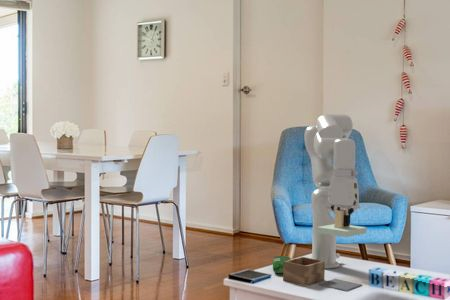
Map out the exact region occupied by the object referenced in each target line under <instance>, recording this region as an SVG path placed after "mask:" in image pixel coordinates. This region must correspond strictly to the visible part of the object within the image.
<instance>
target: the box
mask: <svg viewBox="0 0 450 300" xmlns="http://www.w3.org/2000/svg"><path fill="white" fill-rule="evenodd" d="M325 270H326V268H325V261H321V260H316V259H312V257H310V258H309V257H305V256H300V257H296V258H293V259H291V260H288V261H284V262H283V273H282V281H283V282H287V283H291V284H295V285H300V286H304V287H308V286H311V285H315V284H317V283H320V282H323V281H325V272H326V271H325Z"/></svg>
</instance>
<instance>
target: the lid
mask: <svg viewBox="0 0 450 300" xmlns="http://www.w3.org/2000/svg"><path fill="white" fill-rule="evenodd" d="M344 215H345V209H343V210H336V211H335V214H334V219H335V224H332V225H326V226H321V227H317V233H322V234H329V235H335V236H336V237H343V238H349V237H354V236H359V235H363V234H367V233H368V232H367V231H368V230H367V227H366V226H361V225H360V226H358V225H352V224H350V225H349V226H346V227H344Z"/></svg>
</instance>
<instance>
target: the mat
mask: <svg viewBox="0 0 450 300" xmlns="http://www.w3.org/2000/svg"><path fill="white" fill-rule="evenodd" d="M318 286H320V287H324V288H325V287H326V288H329V289H335V290H339V291H342V292H348V291H351V290H354V289H357V288H359V287H362V286H363V284H362V283H358V282H354V281H348V280H344V279H339V278H333V279H330V280H327V281H324V282H321V283H319V284H318Z"/></svg>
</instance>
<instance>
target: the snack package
mask: <svg viewBox="0 0 450 300" xmlns="http://www.w3.org/2000/svg"><path fill="white" fill-rule="evenodd" d="M288 260H292V259H291V257H290V256H287V255H276V256H274V257H273V259H272V271H273V272H274V273H276V274H283V262H284V261H288Z"/></svg>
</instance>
